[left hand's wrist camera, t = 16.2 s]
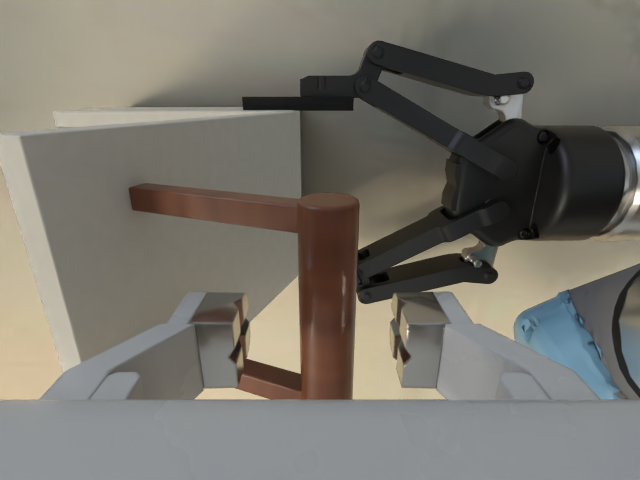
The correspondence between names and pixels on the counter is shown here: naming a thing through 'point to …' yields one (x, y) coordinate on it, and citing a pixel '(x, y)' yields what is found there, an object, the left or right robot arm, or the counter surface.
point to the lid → (186, 236)
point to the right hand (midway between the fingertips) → (252, 184)
